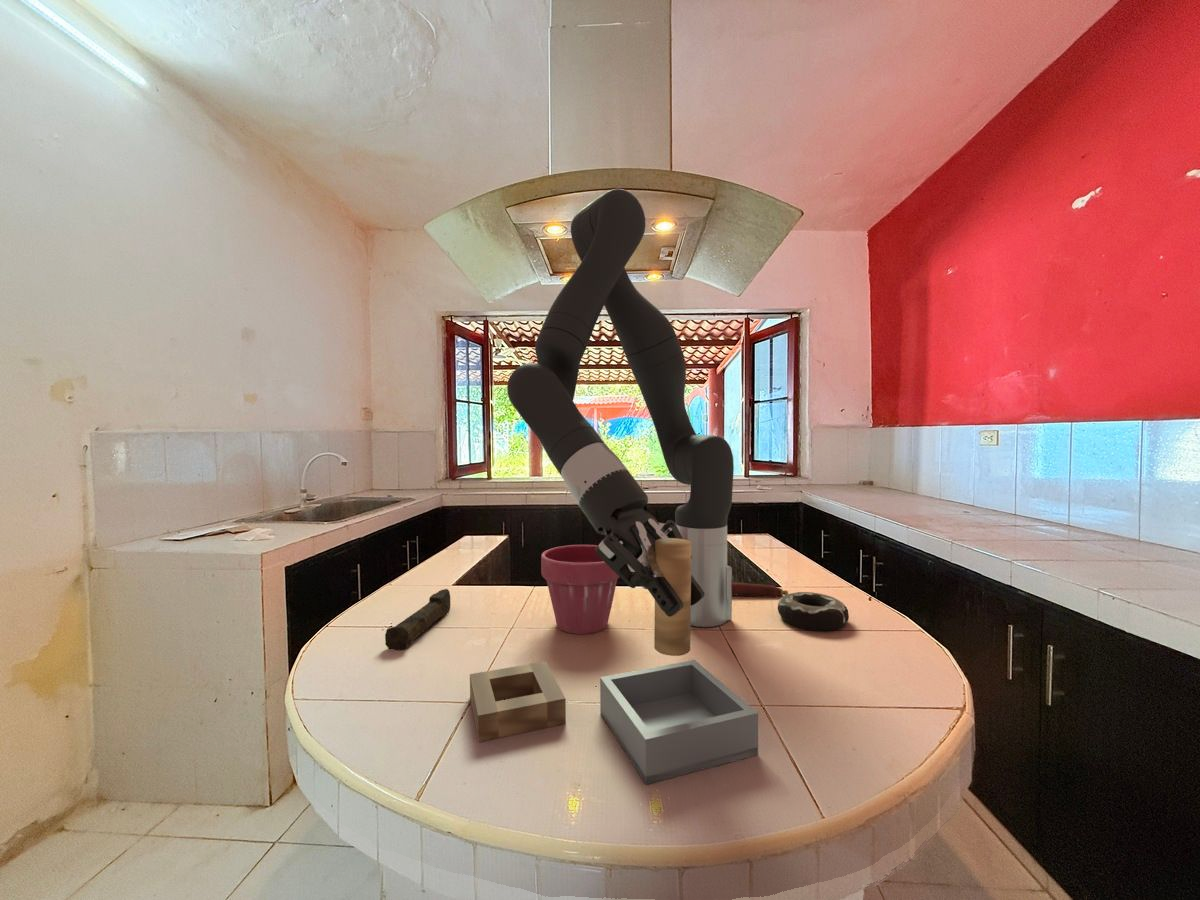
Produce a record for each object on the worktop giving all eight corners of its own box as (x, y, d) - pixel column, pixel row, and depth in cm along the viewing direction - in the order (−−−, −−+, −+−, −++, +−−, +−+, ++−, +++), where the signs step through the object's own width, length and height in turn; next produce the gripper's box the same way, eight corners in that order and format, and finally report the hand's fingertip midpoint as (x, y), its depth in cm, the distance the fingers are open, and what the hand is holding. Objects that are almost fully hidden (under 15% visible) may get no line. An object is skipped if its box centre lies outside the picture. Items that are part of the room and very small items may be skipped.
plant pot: (620, 609, 96) (619, 543, 95) (626, 640, 82) (625, 562, 81) (545, 610, 96) (544, 544, 95) (538, 641, 82) (537, 563, 81)
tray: (694, 693, 65) (694, 659, 65) (757, 754, 53) (758, 712, 53) (600, 713, 61) (600, 677, 61) (645, 784, 48) (645, 739, 48)
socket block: (545, 683, 68) (545, 661, 68) (565, 723, 59) (565, 698, 59) (470, 696, 65) (469, 674, 65) (478, 742, 55) (478, 715, 55)
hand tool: (407, 653, 78) (406, 624, 78) (384, 651, 79) (383, 622, 79) (463, 610, 97) (462, 587, 97) (444, 609, 98) (443, 585, 97)
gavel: (782, 574, 108) (797, 589, 98) (780, 595, 108) (795, 612, 98) (683, 567, 109) (688, 581, 99) (682, 588, 109) (687, 604, 99)
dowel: (679, 638, 59) (680, 537, 58) (697, 652, 55) (698, 544, 55) (648, 643, 57) (649, 539, 57) (664, 658, 54) (665, 547, 53)
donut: (800, 637, 83) (800, 613, 83) (766, 611, 95) (766, 591, 94) (863, 632, 85) (864, 609, 85) (822, 607, 96) (822, 587, 96)
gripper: (580, 470, 55) (674, 605, 48) (653, 464, 66) (739, 573, 58) (546, 513, 59) (629, 644, 51) (621, 501, 69) (698, 607, 62)
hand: (687, 605), depth 55 cm, fingers closed on dowel, 4 cm apart
